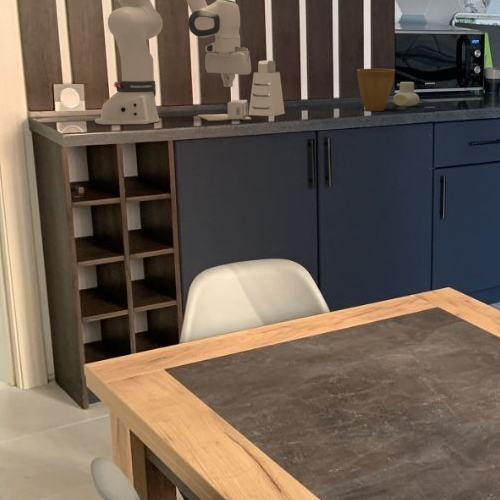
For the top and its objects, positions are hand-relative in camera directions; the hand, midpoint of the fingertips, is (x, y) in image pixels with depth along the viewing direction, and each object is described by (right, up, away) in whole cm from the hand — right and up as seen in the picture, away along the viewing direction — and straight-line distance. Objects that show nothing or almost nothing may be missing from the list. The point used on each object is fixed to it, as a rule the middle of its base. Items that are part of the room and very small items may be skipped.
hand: (228, 86), depth 298 cm
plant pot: (+58, -3, +36) cm, 68 cm away
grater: (+14, -7, +21) cm, 26 cm away
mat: (-2, -10, +9) cm, 13 cm away
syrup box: (+2, -9, -2) cm, 9 cm away
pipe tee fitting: (+73, +2, +52) cm, 90 cm away
